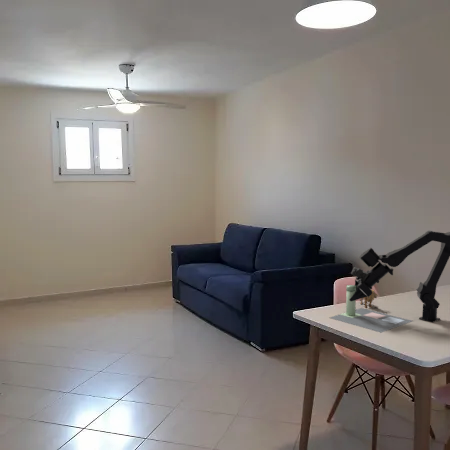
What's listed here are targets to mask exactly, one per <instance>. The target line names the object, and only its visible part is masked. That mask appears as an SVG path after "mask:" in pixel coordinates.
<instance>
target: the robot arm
mask: <svg viewBox="0 0 450 450" xmlns="http://www.w3.org/2000/svg"><path fill="white" fill-rule="evenodd" d="M431 242H438V243H440V250H439V253H438V255H437V257H436V258H435V262H434V263H433V266H432V268H431V270H430V273H429V274H428V277H427V278H426V279H425V281H424V282H421V281H420V282H419V285H418V287H417V288H416V294H417V298H418V299H419V300H420V301H421V302H422V311H421V313H422V316H420V317H419V318H418V319H419V320H422V321H426V322H429V323H434V322H437V321H440V320H441V317H438V315H437V314H438V308H440V307H439V306H440V302H439V301H438V300H437V299H436V298H435V296H436V293H437V285H438V283H439V280H440V278H441V276H442V275H443V271H444V270H445V268H446V265H447V263H448V261H449V259H450V231H448V232H445V233H444V232H441V231H433V230H427V231H425V233H423V234H422V235H420V236H418V237H417V238H415V239H414V240H412V241H411V242H409V243H407V244H406V245H404V246H403V247H402V246H401V247H400V248H397V249H394V250H391V251H389V252H387V253H386V254H380V255H379V254H378V253H377V252H375V250H374V249H373V248H372V247H370V248H368V249H367V250H365V251H364V252H362V253H361V255H360V256H359V259H360V260H361V261H362V262H363V263H364V264H365V265H366V266H367V267H368V268H370V267H371V269H370V270H367V271H366V270H365V271H364V269H361V268H360V267H357V266H354V267H353V268H352V270H351V272H350V273H351V275H352V276H354V277H355V279H354V285H355V286H356V292H355V293H354V294H353V295H352V297H351V298H350V299H349V300H350V301H354V300H356V301H357V300H361V298H363V299H364V297H369V296H370V295H371V294H372V290H373V286H375V285H376V284H379V283H380V281H381V279H383V278H384V277H385V276H386V275H387V274H390V275H391V276H393V275H394V268H396V267H398V266H400V265H401V264H402V263H403V262H404V261H405V260H406V258H408V257H409V256H410V255H411V254H413V253H415V252H416V251H418V250H419V249H421V248H422V247H424V246H426V245H427V244H429V243H431Z"/></svg>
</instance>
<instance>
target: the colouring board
mask: <svg viewBox="0 0 450 450" xmlns="http://www.w3.org/2000/svg"><path fill="white" fill-rule="evenodd" d="M328 318H329V319H332V320H335V321H338V322H341V323H342V322H343V323H346V324H349V325H351V326H356V327H360V328H363V329H367V330H371V331H374V332H377V333H380V334H381V333H385V332H387V331H390V330H392V329H395V328H397V327H401V326H403V325H406V324H409V323H412V322H413V320H411V319H408V318H404V317H403V318H402V317H399V316H396V315H391V314H387V313H383V312H380V311H379V312H378V311H375V310H371V309H367V308H365V307H364V308H363V307H361V308H356V310H355V316H348V315H346V312H344V313H340V314H337V315H334V316H330V317H328Z"/></svg>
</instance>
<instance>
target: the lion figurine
mask: <svg viewBox="0 0 450 450" xmlns="http://www.w3.org/2000/svg"><path fill="white" fill-rule="evenodd" d="M371 290H372V294H371V295H370V296H369V297H364V298H361V299H359V301H360V303H359V304H360V305H363V304H364V309H367V308H368V306H369V308H373V306H372V302H373V301H374V300H375V299H377V298H378V296H379V294H378V293H376V291H375V290H374V289H371ZM363 300H364V303H363ZM368 303H369V304H368Z"/></svg>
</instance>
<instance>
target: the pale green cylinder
mask: <svg viewBox="0 0 450 450" xmlns="http://www.w3.org/2000/svg"><path fill="white" fill-rule="evenodd" d="M345 288H346V290H345V291H346V293H345V295H346V302H345V305H346V306H345V308H346V309H345V313H346V315H348V316H355V310H356V309H357V308H356V307H357V306H356V301H357V300H354V301H350V300H349V299H350V298H351V297H352V295H353V294H354V293H355V292H356V286H355V284H349V285H348V284H347V285H346V287H345Z"/></svg>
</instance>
